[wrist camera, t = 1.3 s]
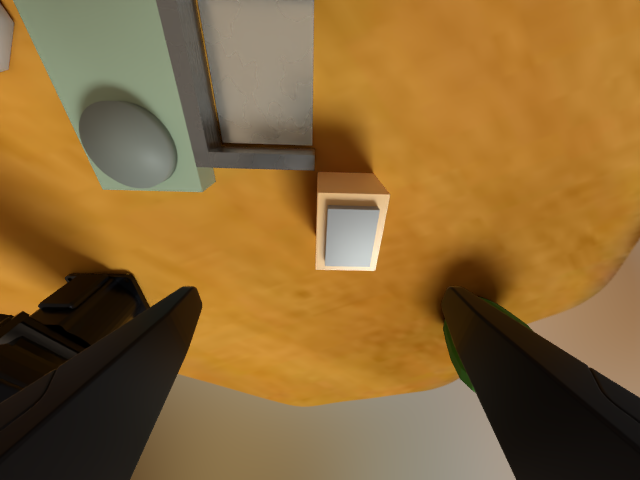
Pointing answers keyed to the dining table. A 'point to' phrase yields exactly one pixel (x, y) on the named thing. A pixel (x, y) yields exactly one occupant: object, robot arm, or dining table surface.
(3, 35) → the flask
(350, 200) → the tan and grey block
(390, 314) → the dining table surface
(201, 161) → the bracket
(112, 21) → the sage green knobbed slab
